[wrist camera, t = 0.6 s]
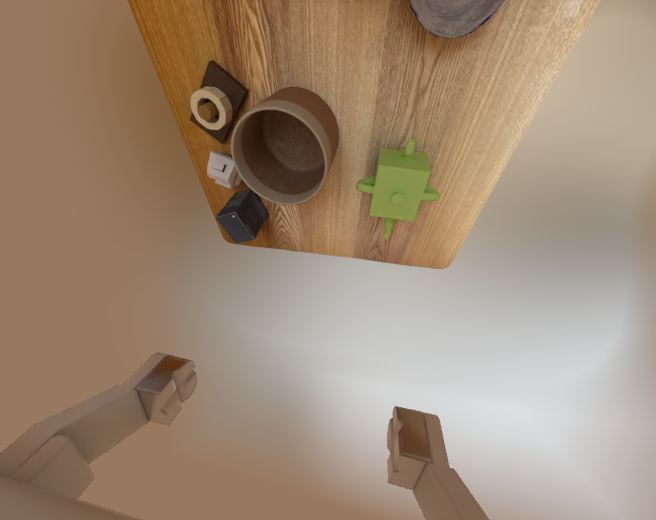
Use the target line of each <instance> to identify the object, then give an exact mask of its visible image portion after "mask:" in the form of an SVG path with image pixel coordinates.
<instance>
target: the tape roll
mask: <svg viewBox="0 0 656 520" xmlns="http://www.w3.org/2000/svg"><path fill="white" fill-rule="evenodd" d="M206 98H208V99H210V100H211V101H212V102H214V103H215V104H216V106H217V108H218V110H219V118H215V117H213V118H212V119H210V120H208V121H205V120H203V119H202V118H201V117H200V116H199V114H198V107H199V106H201V105H203V104H205V103H206ZM191 109H192V112H193V114H194V115H195V117H196V119H197V121H199V123H201V124H202V125H203V126H205V127H206V128H207V129H211V130H219V129H221V128H222V127H224V126H225V125H226V124H227V123H229V122H230V121H231V119H232V113H233V109H232V105H231V103H230V101H229V99H228V97H226V94H224V93H223V92H222V91H221V90H219V89H218V88H216V87H208V86H206V87H204V88H201V89H199V90H197V91H196V92H195V93H194V94H193V95H192V96H191Z"/></svg>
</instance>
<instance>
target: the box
mask: <svg viewBox="0 0 656 520" xmlns="http://www.w3.org/2000/svg"><path fill="white" fill-rule="evenodd" d="M267 216H268V212H267V210H266V209H265V207H264V205H263V203H262V202H261V200H260V198H259V197H258V195H257V194H256V193H255V192H254V191H253V190H251V189H248V190H245V191H241V192H237V193H235V194H234V195H233V197H232V198H231V199H230V200H229V201H228V203H227V204H226V205H225V206H224V208H223V209H222V210H221V211H220V212H219V214H218V215H217V216H216V219H217V220H218V221H219V223H220V224H221V225H222V226H223V228H224V229H225V230H226V232H227V233H228V234H229V236H230V237H231V238H232V240H233V241H234V242H235V243H240V242H245V241H250V240H254V239H255V237H256V236H257V234H258V232H259V230H260V228H261V227H262V225H263V223H264V221H265V220H266V218H267Z"/></svg>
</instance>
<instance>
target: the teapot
mask: <svg viewBox="0 0 656 520" xmlns="http://www.w3.org/2000/svg"><path fill="white" fill-rule="evenodd" d="M414 148H415V140H414V139H411V140H410V141H409V142H408V144H407V146H406V147H402V148H400V149H398V150H394V149H385V148H380V150H379V155H378V160H377V165H376V171H375V176H374V177H370V178H366V179H363V180H361V181H359V182H358V183H357V185H356V188H357V189H358V190H359V191H361V192H365V193H370V194H371V199H370V209H369V216H377V217H383V218H384V223H385V231H384V238H385V239H387V238H388V237H389V236H390V233H391V229H392V225H393V223H394V220H395V219H398V220H406V221H413V222H414V219H415V216H416V213H417V211H418V208H419V205H420V202H421V200H423V201H434V200H437V199H438V198H439V196H440V195H439V192H438V191H436V190H435V189H434V188H432V187H430V186H428V185H427V182H428V179H429V176H430V173H431V169H430V166H429V162H428V158H427V154H426V153H420V152H414ZM372 184H373V186H370V185H372Z"/></svg>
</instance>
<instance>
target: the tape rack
mask: <svg viewBox="0 0 656 520" xmlns="http://www.w3.org/2000/svg"><path fill="white" fill-rule="evenodd" d="M206 86H208V87H216V88H218V89H219V90H221V91H222V92H223V93H224V94H226V97H228V99H229V101H230V103H231V105H232V109H233V113H232V119H231V121H230V122H229V123H227V124H226V125H225V126H224V127H222V128H221V129H219V130H211V129H207V128H206V127H205V126H203V125H202V124H201V123H199V121H197V119H196V117H195V115H194V114H193V112H192V115H191V118H190V120H191V121H192V122H194V123H195V124H196V125H198V126H199V127H200V128H202V129H203V130H204V131H206V132H207V133H208V134H210V135H211V136H212V137H214V138H215V139H216V140H218V141H219V142H220V143H223V142H225V140H226V138H227V136H228V134H229V132H230V129H231V127H232V125H233V123H234V121H235V118H236V116H237V114H238V112H239V110H240V107H241V105H242V103H243V101H244V99H245V96H246V94H247V92H248V89H246V88H245V87H244V86H243V85H242V84H241V83H239V82H238V81H237V80H236V79H235V78H234V77H232V76H231V75H230V74H229V73H228V72H226V71H225V70H224V69H223V68H222V67H221V66H219V65H218V64H217V63H216V62H215V61H214V60H212V61H209V63H208V66H207V69H206V72H205V75H204V78H203V82H202V85H201V88H204V87H206ZM201 88H200V89H201ZM198 114H199V116H200V117H201V118H202V119H203V120H205V121H208V120H210V119H212V118H213V117H215V118H219V110H218V108H217V106H216V104H215V103H214V102H212V101H211V100H210V99H208V98H206V103H205V104H203V105H201V106H199V107H198Z"/></svg>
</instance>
